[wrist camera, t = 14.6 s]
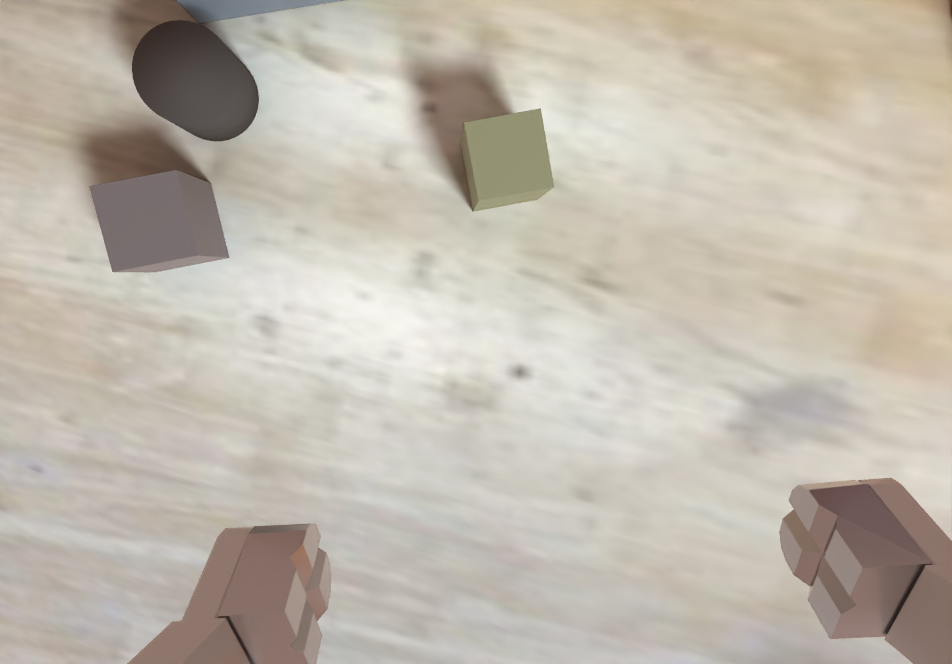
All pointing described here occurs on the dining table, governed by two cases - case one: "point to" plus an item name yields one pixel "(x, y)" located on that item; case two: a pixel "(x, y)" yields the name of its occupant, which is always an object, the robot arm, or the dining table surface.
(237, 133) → the charcoal cylinder
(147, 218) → the mauve grey cube
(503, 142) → the olive block
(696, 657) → the dining table surface
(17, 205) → the dining table surface
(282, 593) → the robot arm
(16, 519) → the dining table surface
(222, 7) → the slate riser
